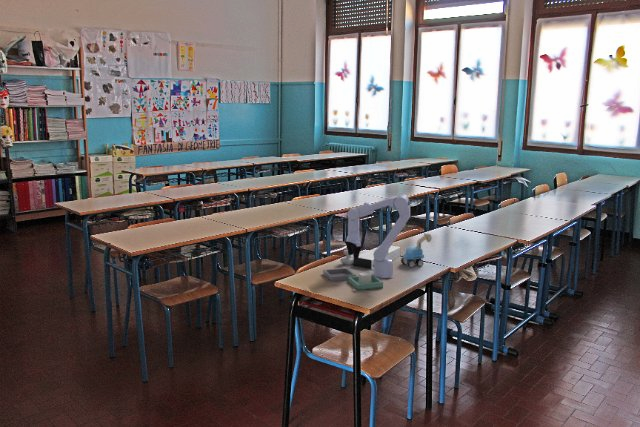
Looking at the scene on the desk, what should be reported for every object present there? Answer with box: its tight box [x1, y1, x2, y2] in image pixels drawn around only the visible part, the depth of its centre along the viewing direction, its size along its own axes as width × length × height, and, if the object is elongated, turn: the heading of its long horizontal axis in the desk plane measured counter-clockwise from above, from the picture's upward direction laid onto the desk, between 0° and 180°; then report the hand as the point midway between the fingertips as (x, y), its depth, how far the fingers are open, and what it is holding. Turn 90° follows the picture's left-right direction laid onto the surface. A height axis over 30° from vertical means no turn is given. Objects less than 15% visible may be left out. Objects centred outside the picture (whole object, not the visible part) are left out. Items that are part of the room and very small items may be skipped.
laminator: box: [352, 245, 401, 271], centre depth 313 cm, size 34×12×6 cm, turn 145°
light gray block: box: [358, 272, 372, 284], centre depth 272 cm, size 5×4×5 cm
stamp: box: [339, 249, 354, 266], centre depth 307 cm, size 9×7×8 cm
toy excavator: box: [400, 232, 432, 268], centre depth 307 cm, size 9×17×17 cm, turn 112°
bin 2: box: [347, 274, 384, 292], centre depth 272 cm, size 13×13×3 cm
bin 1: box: [322, 267, 357, 283], centre depth 284 cm, size 13×13×3 cm
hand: (353, 256), depth 289 cm, fingers open, 7 cm apart
